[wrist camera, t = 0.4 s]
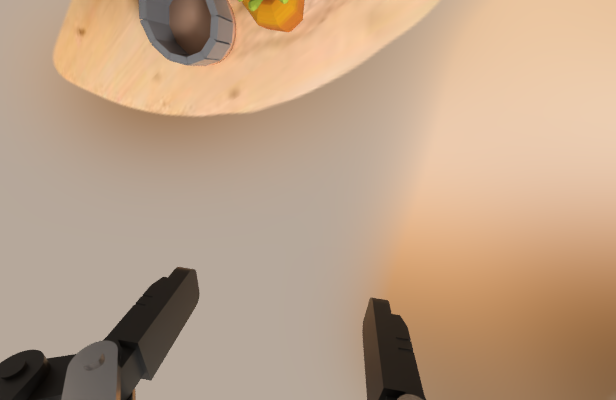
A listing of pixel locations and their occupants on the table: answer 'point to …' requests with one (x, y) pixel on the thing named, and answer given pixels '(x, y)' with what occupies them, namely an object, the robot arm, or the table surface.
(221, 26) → the cup
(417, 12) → the table surface
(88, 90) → the table surface
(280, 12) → the carrot
